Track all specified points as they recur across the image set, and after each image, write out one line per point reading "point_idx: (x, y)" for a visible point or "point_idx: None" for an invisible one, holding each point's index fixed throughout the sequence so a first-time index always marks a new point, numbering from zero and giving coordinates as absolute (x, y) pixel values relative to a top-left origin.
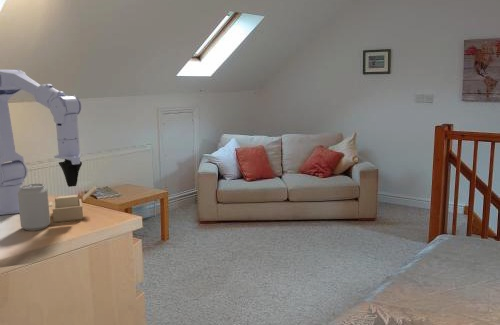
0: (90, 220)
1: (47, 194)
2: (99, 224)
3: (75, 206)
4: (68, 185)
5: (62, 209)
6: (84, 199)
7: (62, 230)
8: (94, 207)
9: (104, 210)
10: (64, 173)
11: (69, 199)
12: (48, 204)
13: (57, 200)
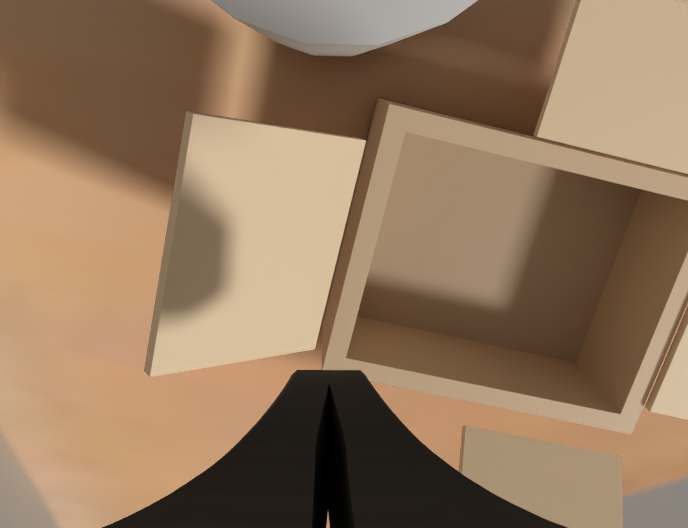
0: (265, 358)
1: (280, 36)
2: (111, 382)
3: (604, 350)
4: (294, 374)
5: (363, 197)
6: (464, 442)
7: (99, 108)
8: (628, 476)
9: None
10: (358, 457)
11: (186, 280)
12: (294, 45)
13: (204, 145)
